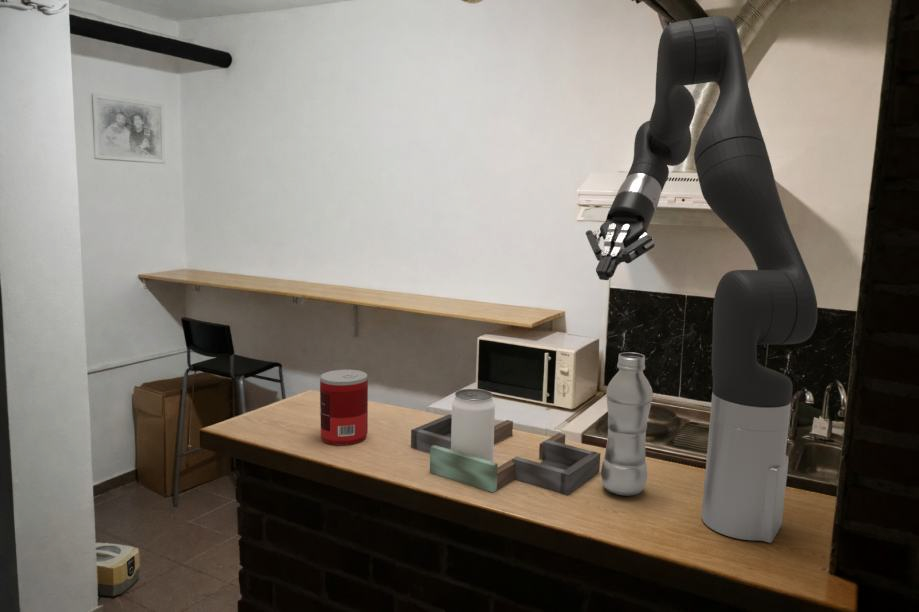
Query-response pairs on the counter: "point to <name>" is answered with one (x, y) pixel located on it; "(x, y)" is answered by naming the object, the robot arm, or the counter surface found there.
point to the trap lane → (556, 472)
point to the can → (473, 423)
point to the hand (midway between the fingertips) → (602, 276)
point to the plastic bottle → (627, 427)
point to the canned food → (344, 406)
